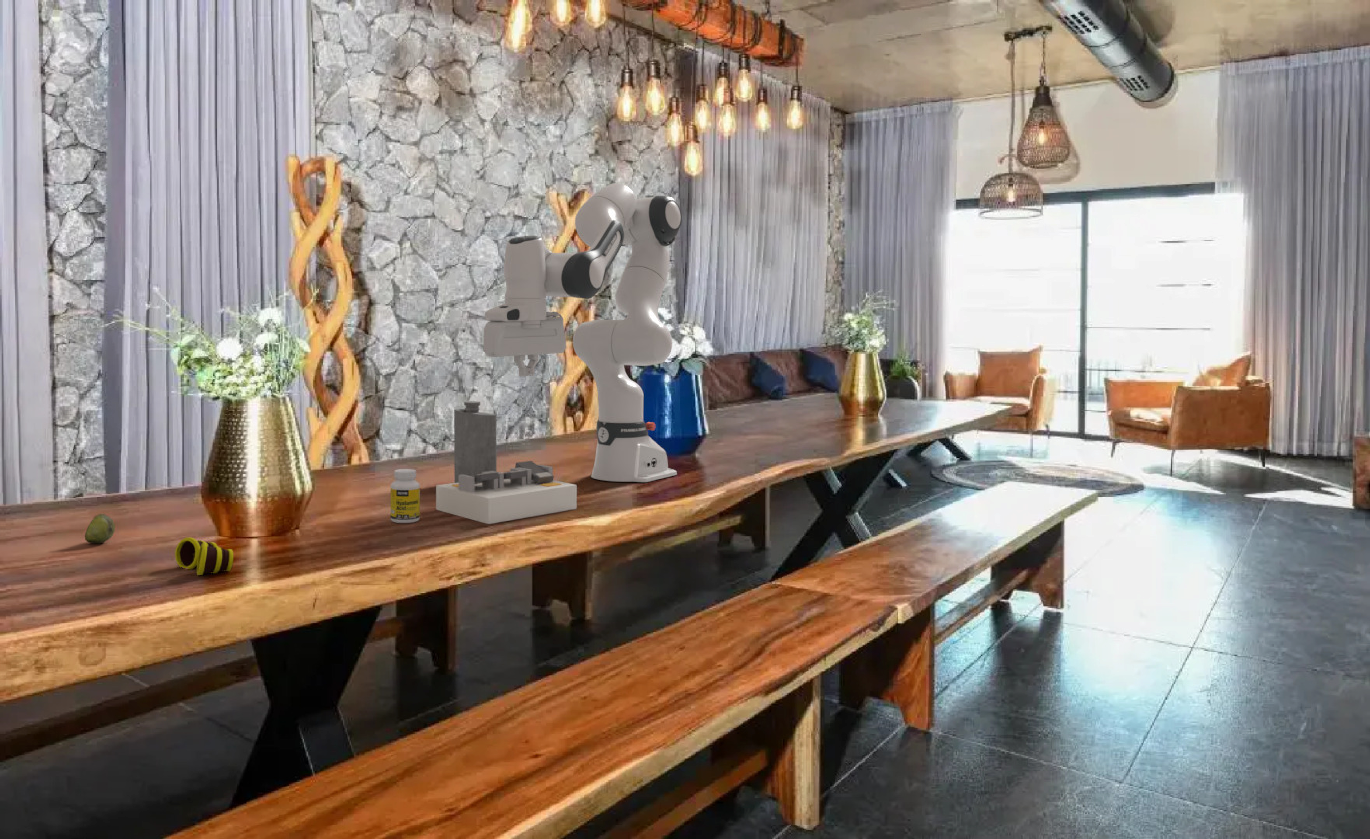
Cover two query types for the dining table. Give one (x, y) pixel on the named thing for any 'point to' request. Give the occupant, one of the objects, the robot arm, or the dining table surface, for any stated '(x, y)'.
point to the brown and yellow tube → (203, 556)
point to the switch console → (505, 497)
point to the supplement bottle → (405, 497)
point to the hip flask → (474, 441)
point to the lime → (100, 529)
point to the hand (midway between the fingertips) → (526, 375)
